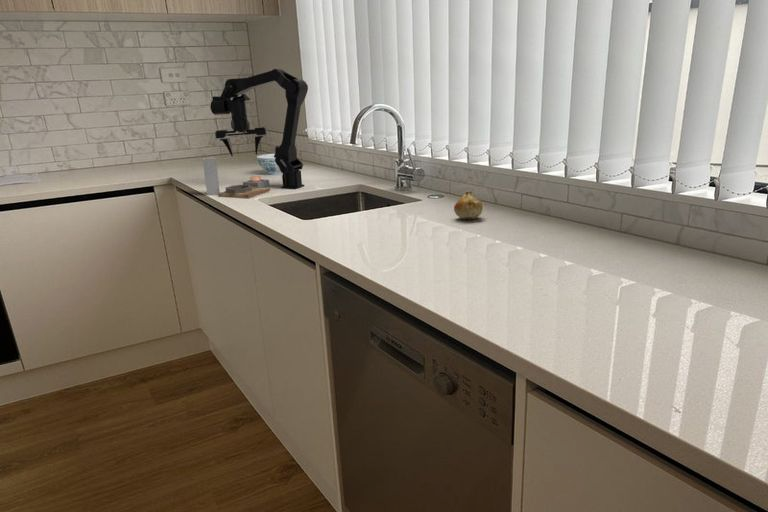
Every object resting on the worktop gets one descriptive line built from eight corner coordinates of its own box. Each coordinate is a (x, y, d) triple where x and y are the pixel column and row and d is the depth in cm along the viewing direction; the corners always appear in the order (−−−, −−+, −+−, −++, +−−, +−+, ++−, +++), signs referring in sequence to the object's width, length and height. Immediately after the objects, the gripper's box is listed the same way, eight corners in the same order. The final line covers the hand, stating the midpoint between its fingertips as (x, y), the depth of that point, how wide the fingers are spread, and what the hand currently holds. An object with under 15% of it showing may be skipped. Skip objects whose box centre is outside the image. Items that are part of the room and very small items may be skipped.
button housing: (269, 186, 221) (268, 179, 220) (258, 189, 215) (257, 182, 214) (254, 185, 224) (254, 179, 223) (243, 188, 218) (242, 182, 217)
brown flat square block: (270, 191, 210) (269, 184, 209) (248, 198, 199) (247, 190, 198) (242, 189, 216) (241, 182, 215) (219, 196, 204) (218, 188, 204)
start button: (263, 182, 220) (262, 176, 219) (257, 184, 216) (256, 178, 216) (255, 182, 221) (254, 175, 221) (248, 184, 218) (247, 177, 217)
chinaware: (276, 169, 261) (274, 152, 259) (299, 172, 253) (298, 154, 251) (251, 174, 250) (249, 157, 248) (275, 177, 241) (273, 158, 239)
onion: (448, 218, 162) (448, 190, 160) (472, 214, 165) (473, 187, 163) (462, 223, 155) (462, 194, 153) (487, 220, 158) (488, 191, 156)
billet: (219, 192, 212) (215, 157, 208) (219, 194, 208) (215, 158, 204) (207, 193, 211) (202, 157, 207) (207, 195, 207) (202, 159, 203)
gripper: (266, 111, 223) (271, 151, 228) (217, 114, 222) (223, 155, 227) (263, 112, 213) (268, 154, 217) (212, 115, 212) (218, 158, 216)
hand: (244, 155), depth 220 cm, fingers open, 9 cm apart
